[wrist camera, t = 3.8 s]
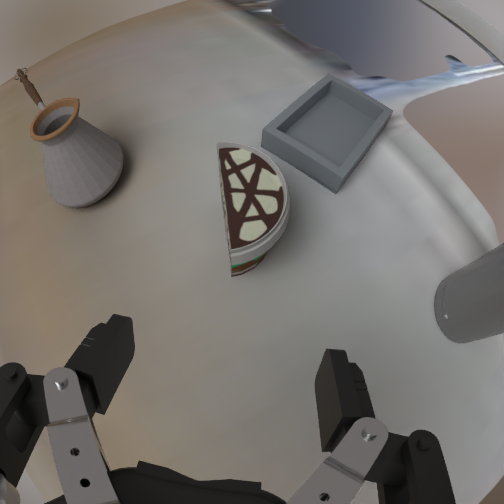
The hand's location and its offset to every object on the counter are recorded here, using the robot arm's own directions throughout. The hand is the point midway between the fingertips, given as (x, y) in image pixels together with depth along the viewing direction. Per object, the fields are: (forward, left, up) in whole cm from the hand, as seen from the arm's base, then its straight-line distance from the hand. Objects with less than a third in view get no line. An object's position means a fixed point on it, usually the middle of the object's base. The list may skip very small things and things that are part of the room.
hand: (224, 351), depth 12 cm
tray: (-9, -33, -20) cm, 39 cm away
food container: (0, -15, -20) cm, 25 cm away
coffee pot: (+27, -23, -20) cm, 41 cm away
